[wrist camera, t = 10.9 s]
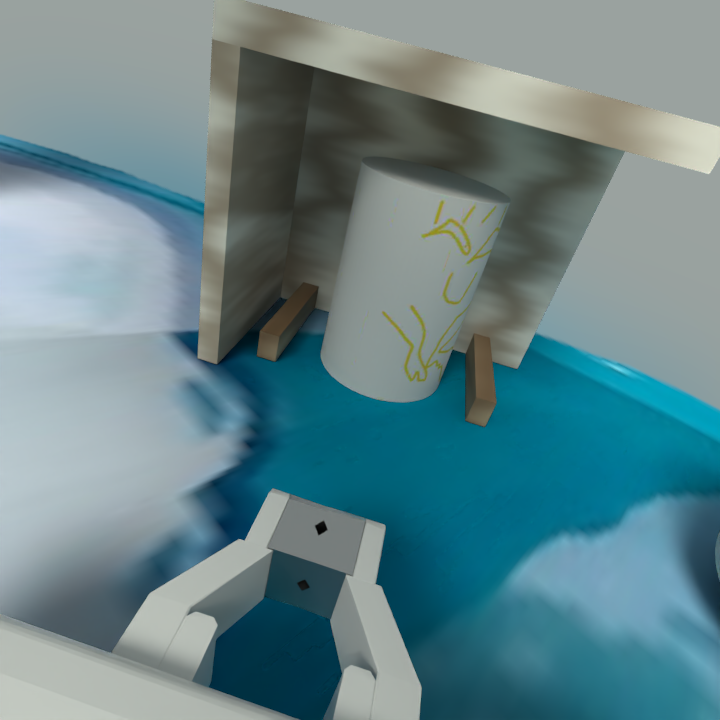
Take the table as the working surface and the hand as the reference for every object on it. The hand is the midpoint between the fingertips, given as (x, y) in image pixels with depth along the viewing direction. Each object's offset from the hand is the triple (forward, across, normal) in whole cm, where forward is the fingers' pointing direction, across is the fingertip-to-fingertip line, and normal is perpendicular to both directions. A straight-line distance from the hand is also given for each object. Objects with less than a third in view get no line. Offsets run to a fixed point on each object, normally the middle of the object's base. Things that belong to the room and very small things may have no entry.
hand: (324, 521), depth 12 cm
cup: (+18, 0, +6) cm, 20 cm away
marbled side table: (+19, 0, +6) cm, 20 cm away
